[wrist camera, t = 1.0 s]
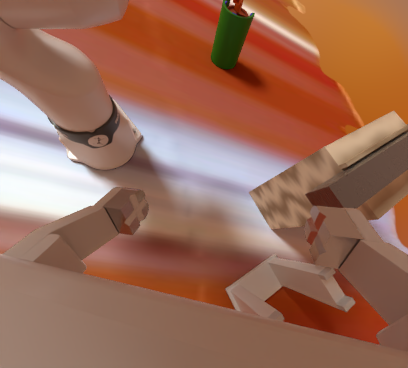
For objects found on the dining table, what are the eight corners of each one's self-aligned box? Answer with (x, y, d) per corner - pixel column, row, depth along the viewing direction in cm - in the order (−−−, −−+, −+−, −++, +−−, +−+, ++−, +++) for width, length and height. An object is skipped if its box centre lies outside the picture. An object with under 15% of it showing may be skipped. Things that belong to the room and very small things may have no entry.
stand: (248, 192, 49) (330, 143, 24) (296, 167, 55) (400, 106, 30) (271, 229, 47) (387, 218, 22) (317, 198, 53) (450, 162, 28)
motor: (238, 59, 67) (264, -11, 48) (231, 73, 63) (257, 4, 45) (214, 48, 66) (232, -27, 47) (207, 62, 63) (222, -13, 44)
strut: (304, 194, 22) (328, 186, 18) (404, 132, 30) (433, 119, 26) (321, 218, 21) (348, 214, 18) (418, 148, 29) (450, 137, 26)
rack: (225, 288, 40) (263, 323, 24) (274, 253, 45) (333, 262, 28) (239, 318, 39) (291, 377, 22) (288, 278, 44) (360, 302, 27)
